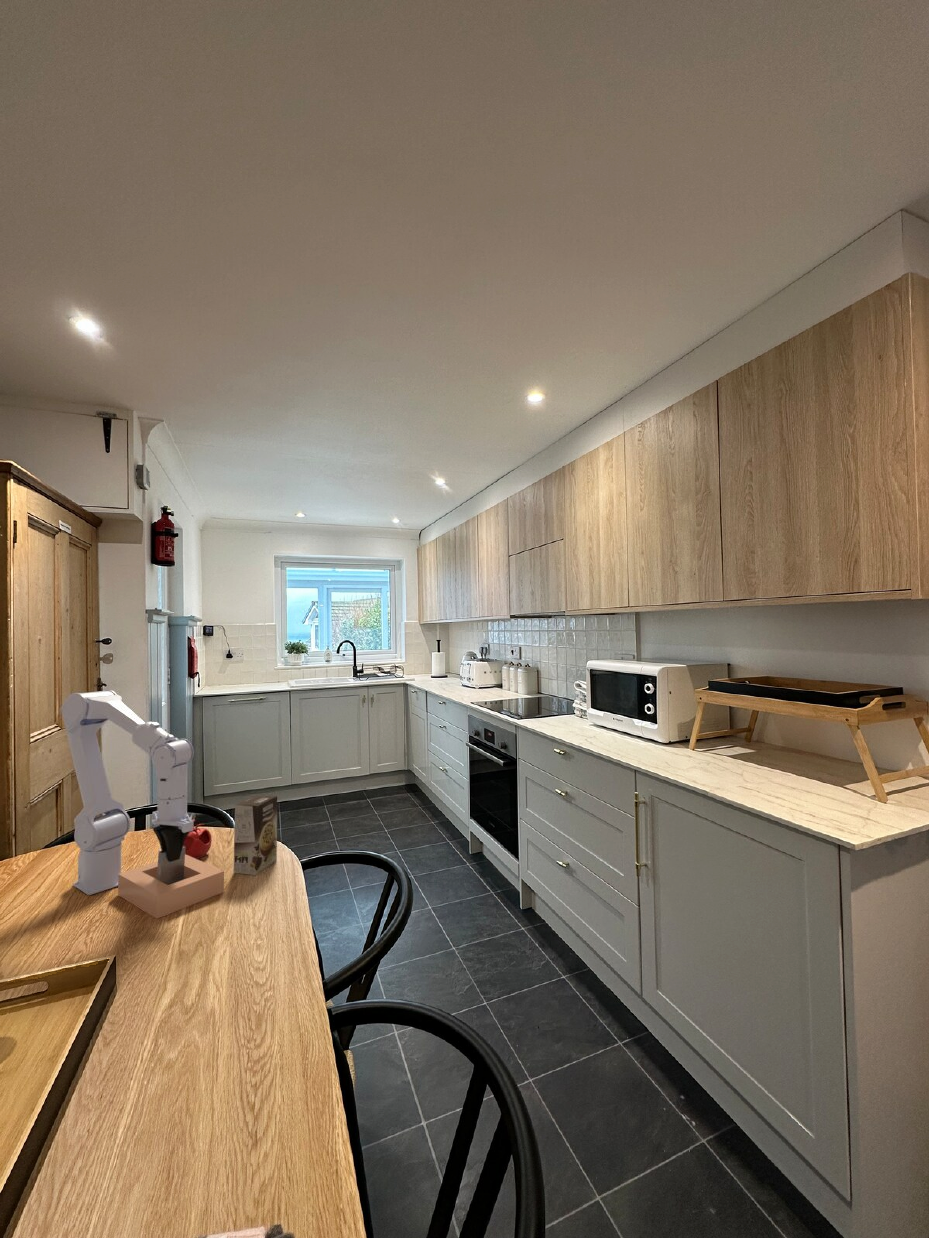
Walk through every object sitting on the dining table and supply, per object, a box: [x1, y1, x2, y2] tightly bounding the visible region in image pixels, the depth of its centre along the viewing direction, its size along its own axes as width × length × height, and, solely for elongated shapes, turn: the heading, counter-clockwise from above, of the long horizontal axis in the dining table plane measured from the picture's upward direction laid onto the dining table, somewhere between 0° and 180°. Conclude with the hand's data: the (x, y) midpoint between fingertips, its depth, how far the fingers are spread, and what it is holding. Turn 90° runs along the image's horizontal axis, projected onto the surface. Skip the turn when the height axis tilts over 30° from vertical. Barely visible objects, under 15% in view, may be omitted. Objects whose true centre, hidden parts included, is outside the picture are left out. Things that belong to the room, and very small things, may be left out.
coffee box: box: [233, 795, 278, 876], centre depth 131 cm, size 9×6×16 cm
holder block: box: [117, 854, 225, 919], centre depth 117 cm, size 18×14×4 cm
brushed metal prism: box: [157, 846, 185, 885], centre depth 117 cm, size 4×5×8 cm
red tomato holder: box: [183, 819, 213, 860], centre depth 138 cm, size 10×10×9 cm
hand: (171, 859), depth 117 cm, fingers closed on brushed metal prism, 2 cm apart
